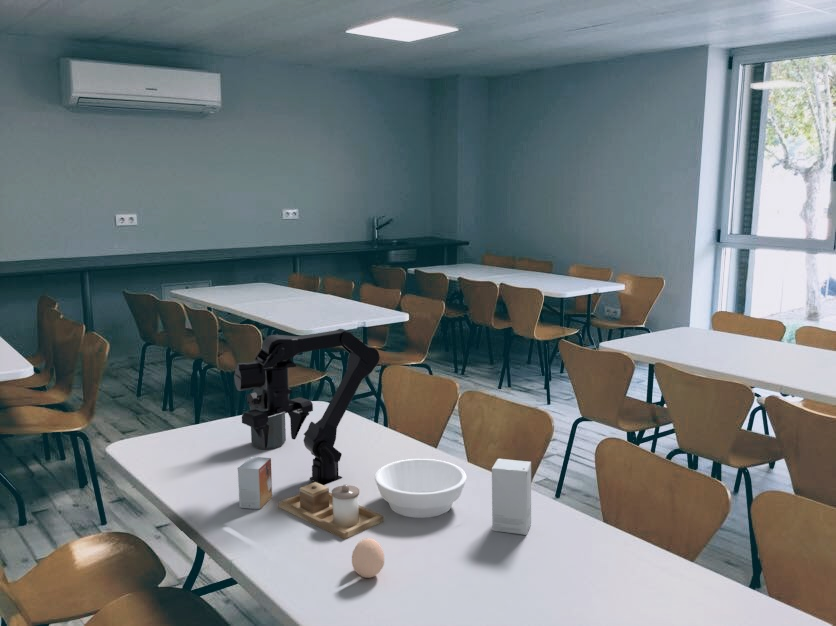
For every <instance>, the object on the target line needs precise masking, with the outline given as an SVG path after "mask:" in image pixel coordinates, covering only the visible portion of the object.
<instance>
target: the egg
mask: <svg viewBox="0 0 836 626" xmlns="http://www.w3.org/2000/svg"><path fill="white" fill-rule="evenodd" d="M351 564H352V567H353V570H354V571H355V572H356V573H357V574H358V575H359V576H361V577H363V578H365V579H366V578H369V579H370V578H374V577H376V576H377V575H378V574H380V572H381V571H382V570H383V567H384V565H385V552H384V550H383V547H382V546H381V545H380V543H379V542H378V541H376V540H375V539H374V538H369V537H367V538H364V539H362V540H360V541H359V542H358V543H357V544H356V545H355V547H354V549H353V550H352V555H351Z"/></svg>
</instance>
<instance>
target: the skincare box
mask: <svg viewBox="0 0 836 626" xmlns="http://www.w3.org/2000/svg"><path fill="white" fill-rule="evenodd" d="M491 510H492V513H491V516H492V521H491V522H492V531H493V532H498V533H499V532H501V533H509V534H515V535H524V536H526V535H527V534H528V532H529V529H530V527H531V525H532V461H525V460H515V459H508V458H507V459H505V458H497V459H496V461H495V463H494V464H493V466H492V468H491Z"/></svg>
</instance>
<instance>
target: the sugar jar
mask: <svg viewBox="0 0 836 626" xmlns="http://www.w3.org/2000/svg"><path fill="white" fill-rule="evenodd" d="M331 493H332V496H333V524H334V525H336V526H338V527H352V526H355V525H357V524H358V522H359V505H360V503H359V501H360V499H359V495H360V488H359V487H357V486H354V485H348V484H343V485H337V486H336V487H334V488H332V490H331Z"/></svg>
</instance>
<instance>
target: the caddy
mask: <svg viewBox="0 0 836 626" xmlns="http://www.w3.org/2000/svg"><path fill="white" fill-rule="evenodd" d="M278 508H279V509H281V510H283V511H284V512H287V513H289V514H291V515H294V516H295V517H298V518H300V519H301V520H304V521H305V522H307V523H309V524H311V525H314V526H316V527H317V528H318V527H319V528H320V529H323V530H324V531H327V532H328V533H331V534H333V535H335V536H337V537H339V538H341V539H342V540H347V539H348V538H351V537H353V536H355V535H358V534H359V533H362V532H363V531H366V530H369V529H370V528H373V527H375V526H377V525H378V524H380V523H382V522H384V515H383V514H380V513H378V512H375V511H374V510H371V509H369V508H366V507H364V506H362V505H360V504H359V522H358V524H357V525H355V526H352V527H338V526H336V525H334V524H333V496H332V492H329V507H327V508H325V509H323V510H320V511H318V512H315V513H311V512H309V511H307V510H305V509H303V508H301V507H300V493H299V494H296V495H293V496H291V497H288V498H285V499H282V500H280V501H278Z"/></svg>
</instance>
